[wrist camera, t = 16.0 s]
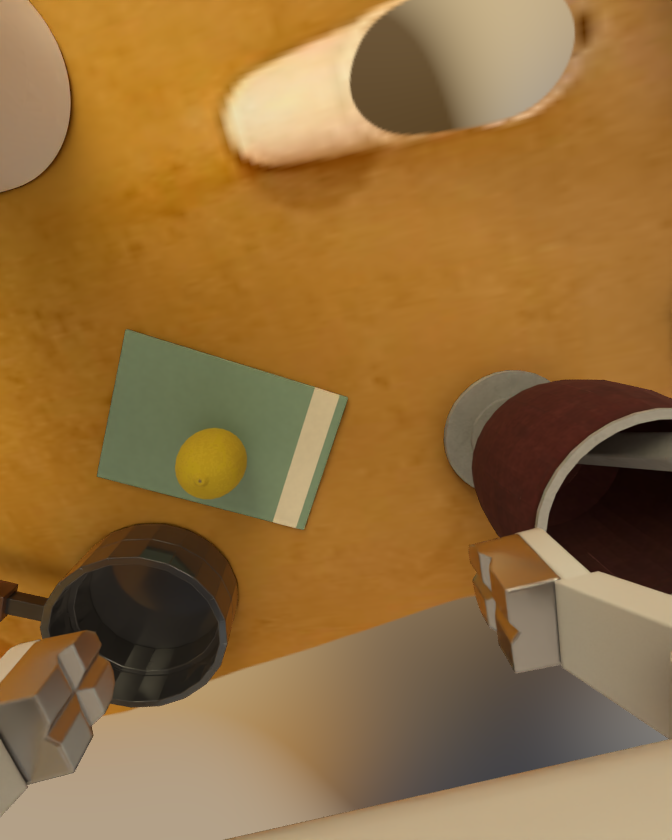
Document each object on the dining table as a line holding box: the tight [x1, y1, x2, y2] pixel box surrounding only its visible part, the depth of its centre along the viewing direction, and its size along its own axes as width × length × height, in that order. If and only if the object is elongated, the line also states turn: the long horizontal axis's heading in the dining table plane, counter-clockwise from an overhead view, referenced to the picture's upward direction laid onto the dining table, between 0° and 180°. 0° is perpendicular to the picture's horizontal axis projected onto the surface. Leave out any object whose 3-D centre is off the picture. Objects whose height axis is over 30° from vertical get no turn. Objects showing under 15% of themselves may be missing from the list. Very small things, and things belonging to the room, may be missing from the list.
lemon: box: [175, 428, 247, 499], centre depth 33 cm, size 6×6×8 cm
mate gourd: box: [444, 370, 672, 595], centre depth 29 cm, size 16×14×20 cm
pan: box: [40, 524, 238, 708], centre depth 38 cm, size 16×16×6 cm
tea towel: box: [97, 329, 348, 530], centre depth 37 cm, size 20×14×1 cm
